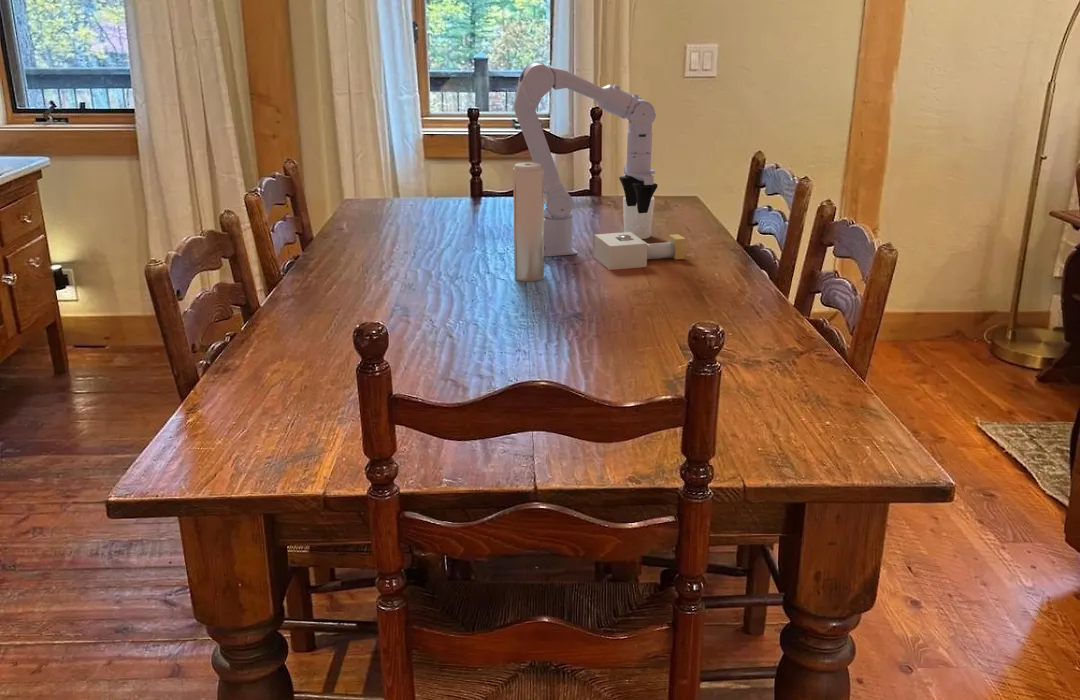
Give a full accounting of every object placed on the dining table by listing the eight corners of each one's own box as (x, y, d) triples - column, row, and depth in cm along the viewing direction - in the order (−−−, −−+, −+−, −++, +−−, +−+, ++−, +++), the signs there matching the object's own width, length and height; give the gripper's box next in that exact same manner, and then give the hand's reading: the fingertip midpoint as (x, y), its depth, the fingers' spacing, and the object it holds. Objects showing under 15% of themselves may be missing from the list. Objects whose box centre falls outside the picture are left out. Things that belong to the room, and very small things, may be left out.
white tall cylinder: (540, 282, 203) (540, 167, 194) (511, 281, 205) (510, 166, 195) (546, 274, 209) (546, 161, 200) (518, 272, 210) (516, 160, 201)
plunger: (620, 246, 216) (621, 238, 215) (616, 243, 218) (616, 235, 217) (632, 245, 216) (632, 237, 216) (628, 242, 219) (628, 234, 218)
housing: (609, 269, 212) (609, 246, 210) (594, 257, 222) (594, 234, 220) (646, 266, 215) (647, 243, 213) (629, 254, 225) (630, 231, 223)
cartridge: (643, 262, 218) (643, 241, 216) (636, 257, 222) (637, 237, 220) (684, 259, 220) (685, 238, 218) (677, 254, 224) (678, 234, 222)
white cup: (652, 232, 244) (654, 194, 241) (652, 240, 237) (654, 201, 233) (622, 232, 245) (623, 194, 241) (621, 239, 238) (622, 200, 234)
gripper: (666, 156, 215) (664, 214, 220) (643, 146, 228) (641, 202, 233) (637, 157, 213) (635, 216, 218) (616, 147, 226) (614, 203, 231)
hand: (637, 209), depth 225 cm, fingers open, 7 cm apart
